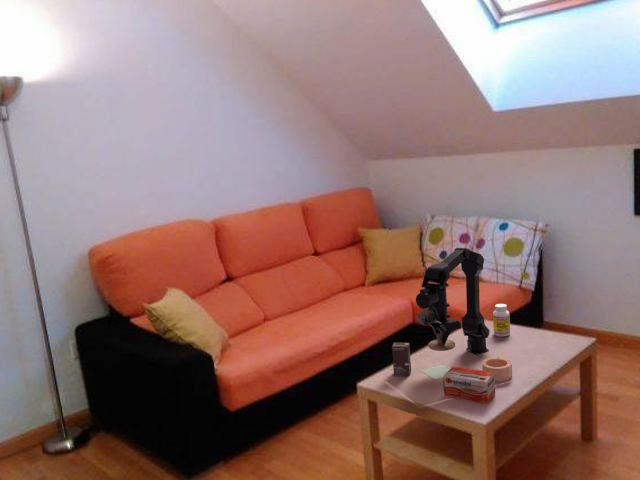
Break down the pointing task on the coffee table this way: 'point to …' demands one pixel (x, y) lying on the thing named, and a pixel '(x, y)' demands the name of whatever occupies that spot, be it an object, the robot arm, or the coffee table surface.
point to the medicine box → (469, 384)
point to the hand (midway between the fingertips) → (441, 342)
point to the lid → (441, 344)
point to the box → (401, 359)
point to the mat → (436, 371)
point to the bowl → (498, 368)
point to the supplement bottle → (501, 320)
